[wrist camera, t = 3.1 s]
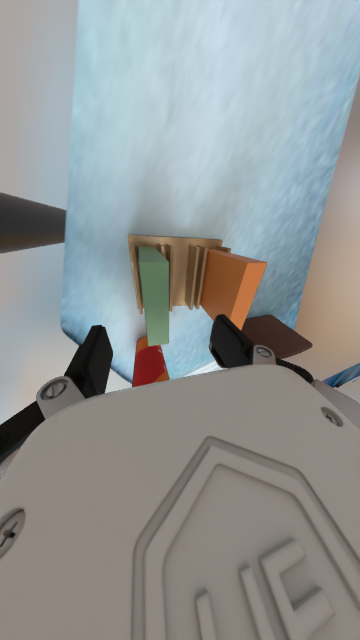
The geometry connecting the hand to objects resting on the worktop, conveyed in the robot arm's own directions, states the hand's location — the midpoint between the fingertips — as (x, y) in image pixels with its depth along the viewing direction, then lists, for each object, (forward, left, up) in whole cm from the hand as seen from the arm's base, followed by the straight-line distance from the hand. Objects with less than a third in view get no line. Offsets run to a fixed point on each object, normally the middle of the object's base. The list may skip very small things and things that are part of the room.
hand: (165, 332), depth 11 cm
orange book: (+11, 0, -17) cm, 20 cm away
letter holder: (+26, -18, -18) cm, 36 cm away
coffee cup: (-2, -18, -18) cm, 25 cm away
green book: (0, 0, -17) cm, 17 cm away
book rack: (+5, 0, -18) cm, 18 cm away
